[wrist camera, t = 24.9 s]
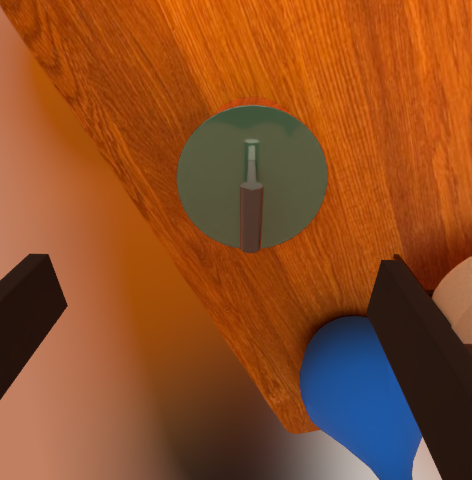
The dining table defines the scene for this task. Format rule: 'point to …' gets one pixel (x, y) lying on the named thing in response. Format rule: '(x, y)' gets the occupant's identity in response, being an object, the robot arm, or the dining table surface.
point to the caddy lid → (252, 177)
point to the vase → (359, 397)
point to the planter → (454, 298)
